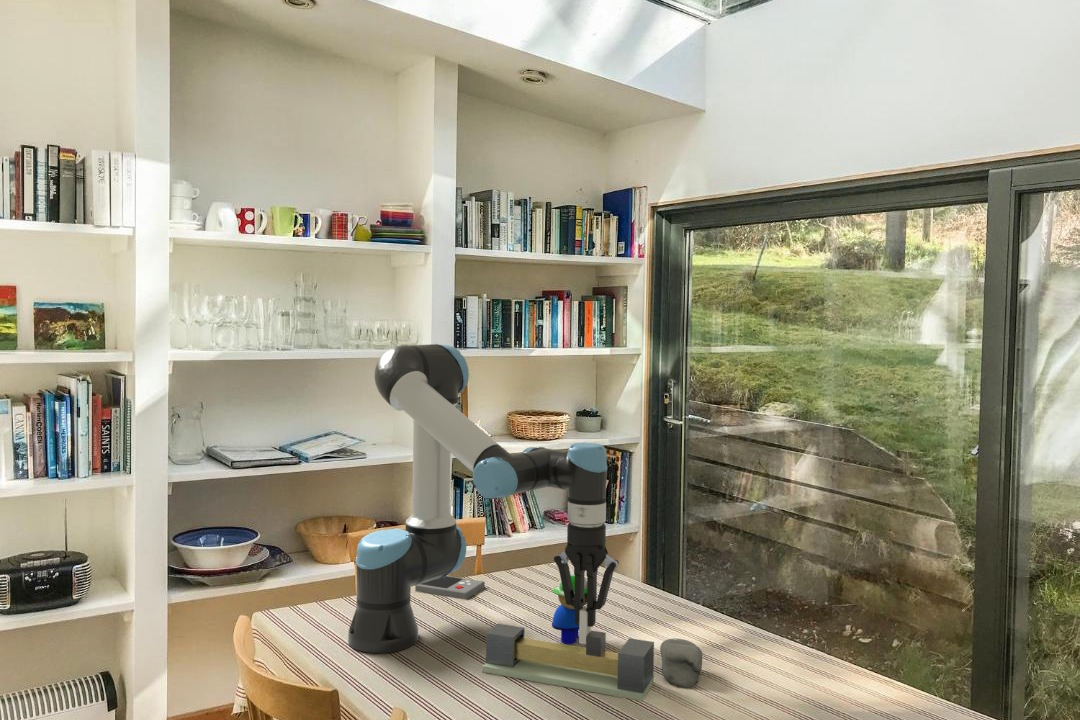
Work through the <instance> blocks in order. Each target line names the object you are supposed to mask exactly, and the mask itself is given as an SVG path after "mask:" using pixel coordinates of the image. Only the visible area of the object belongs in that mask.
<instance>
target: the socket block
mask: <svg viewBox="0 0 1080 720" xmlns="http://www.w3.org/2000/svg"><path fill="white" fill-rule="evenodd" d="M617 653H618V685H617V689H620V690H626V691H631V692H637V693H642V694H643V693H644V691H645V690H646V688H647V686H648V685H649V683H650V682H651V680H652V678H653V676H654V670H655V669H654V666H655V665H654V661H655V660H654V659H655V658H654V657H655V654H654V653H655V641H650V640H645V639H636V638H631V637H629V638H628V640H626V642H625V643H624V644H623V646H622V647H621V648H620V650H619V651H618V652H617Z"/></svg>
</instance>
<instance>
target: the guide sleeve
mask: <svg viewBox="0 0 1080 720" xmlns="http://www.w3.org/2000/svg"><path fill="white" fill-rule="evenodd" d="M518 637H522V638H525V627H522V626H515V625H510V624H509V625H508V624H503V623H497V624H495V625H494V626H492V628H490V629H489V630H488V631H487V632H486V633H485V663H488V664H494V665H500V666H505V667H511V668H513V667H514V666H515V665H516V664H518V663H519V662H520V661H521V659H515V640H516V639H517V638H518Z"/></svg>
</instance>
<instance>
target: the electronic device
mask: <svg viewBox="0 0 1080 720" xmlns="http://www.w3.org/2000/svg"><path fill="white" fill-rule="evenodd" d="M485 583H486V582H485V581H484V580H477V579H470V578H465V577H464V578H463V577H458V576H457V577H456V576H451V575H447V576H446V577H444V578H439V579H435V580H431V581H428V582H424V583H421V584H418V585H414V586H415V590H414V591H415V592H418V593H424V594H430V595H437V596H442V597H447V598H454V599H461V600H468V599H470V597H472V596H475V595H476V594H477V593H479V592H481V591H482V590H484V589H485V585H486V584H485Z"/></svg>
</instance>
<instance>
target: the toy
mask: <svg viewBox="0 0 1080 720" xmlns="http://www.w3.org/2000/svg"><path fill="white" fill-rule="evenodd" d="M570 575H571V580H572V584H573V589H574V594H575V575H574V571H570ZM552 592H553V594H555V595H557V596H558V597H557V599H558V601H559V603H560V605H558V607H557V608H556V609H555V612H554V614H553V618H552V623H551V627H552V628H553V629H554V630H556V631H560V633H561V636H560V642H561V644H565V645H573V644H575V643H577V639H579V625H576V624H575V608H574V607H573V606H571V605H567V604H566V601H565V596H564V591H563V587H562V582H561V578H560V579H559V581H558V586H556V587H554V588H553V589H552ZM584 602H585V604H584V605H583V607H584V606H586V605H587V579H586V577H584Z"/></svg>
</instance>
